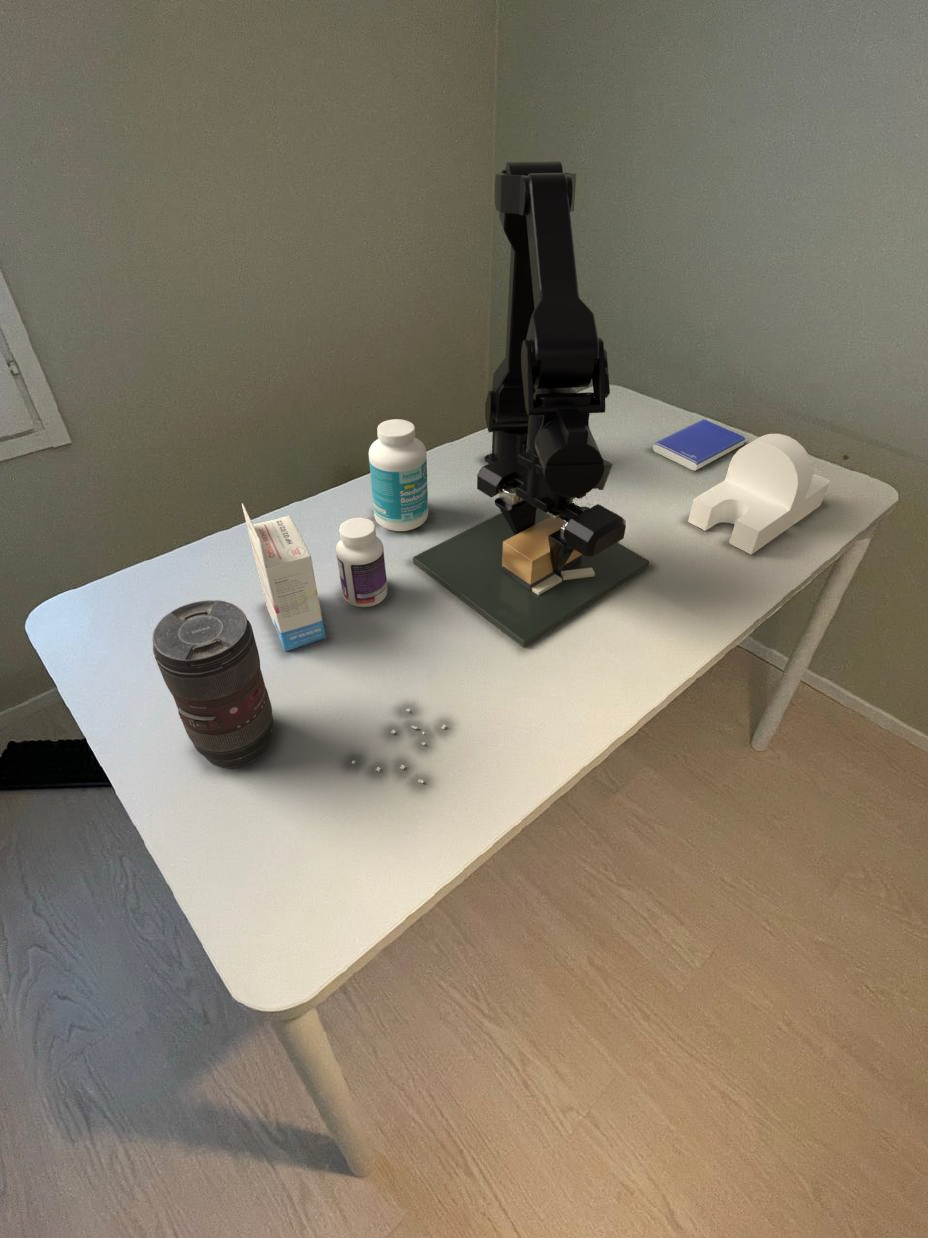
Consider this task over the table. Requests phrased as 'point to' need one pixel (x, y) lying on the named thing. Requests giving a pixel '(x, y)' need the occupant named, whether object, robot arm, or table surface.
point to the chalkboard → (516, 611)
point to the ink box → (287, 580)
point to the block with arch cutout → (762, 492)
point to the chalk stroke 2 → (577, 573)
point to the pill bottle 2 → (398, 476)
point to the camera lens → (215, 680)
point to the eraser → (533, 554)
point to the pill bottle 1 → (361, 563)
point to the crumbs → (422, 744)
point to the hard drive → (698, 444)
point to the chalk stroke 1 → (546, 584)
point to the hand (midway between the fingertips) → (542, 560)
